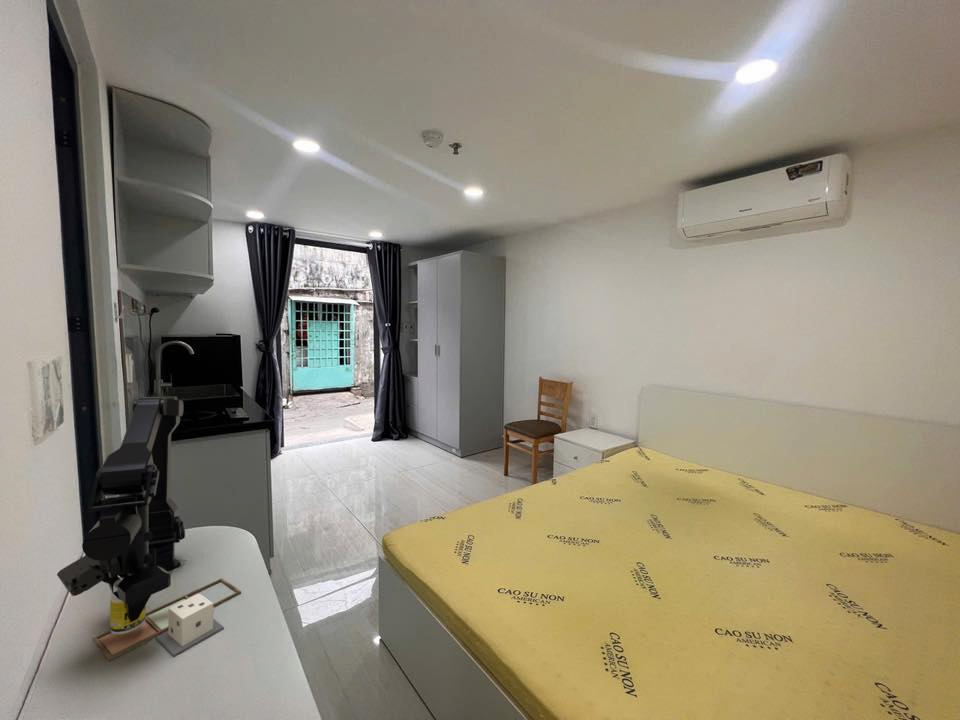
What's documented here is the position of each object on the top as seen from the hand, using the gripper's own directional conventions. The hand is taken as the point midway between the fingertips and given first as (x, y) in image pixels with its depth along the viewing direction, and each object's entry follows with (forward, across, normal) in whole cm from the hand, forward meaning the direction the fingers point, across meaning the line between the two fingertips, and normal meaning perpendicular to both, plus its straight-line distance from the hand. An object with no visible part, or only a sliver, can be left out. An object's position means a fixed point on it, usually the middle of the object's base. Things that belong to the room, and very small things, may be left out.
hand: (128, 614), depth 72 cm
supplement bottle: (+2, 0, 0) cm, 2 cm away
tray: (+4, 0, +7) cm, 8 cm away
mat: (+4, +8, +6) cm, 11 cm away
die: (+4, +8, +6) cm, 11 cm away
